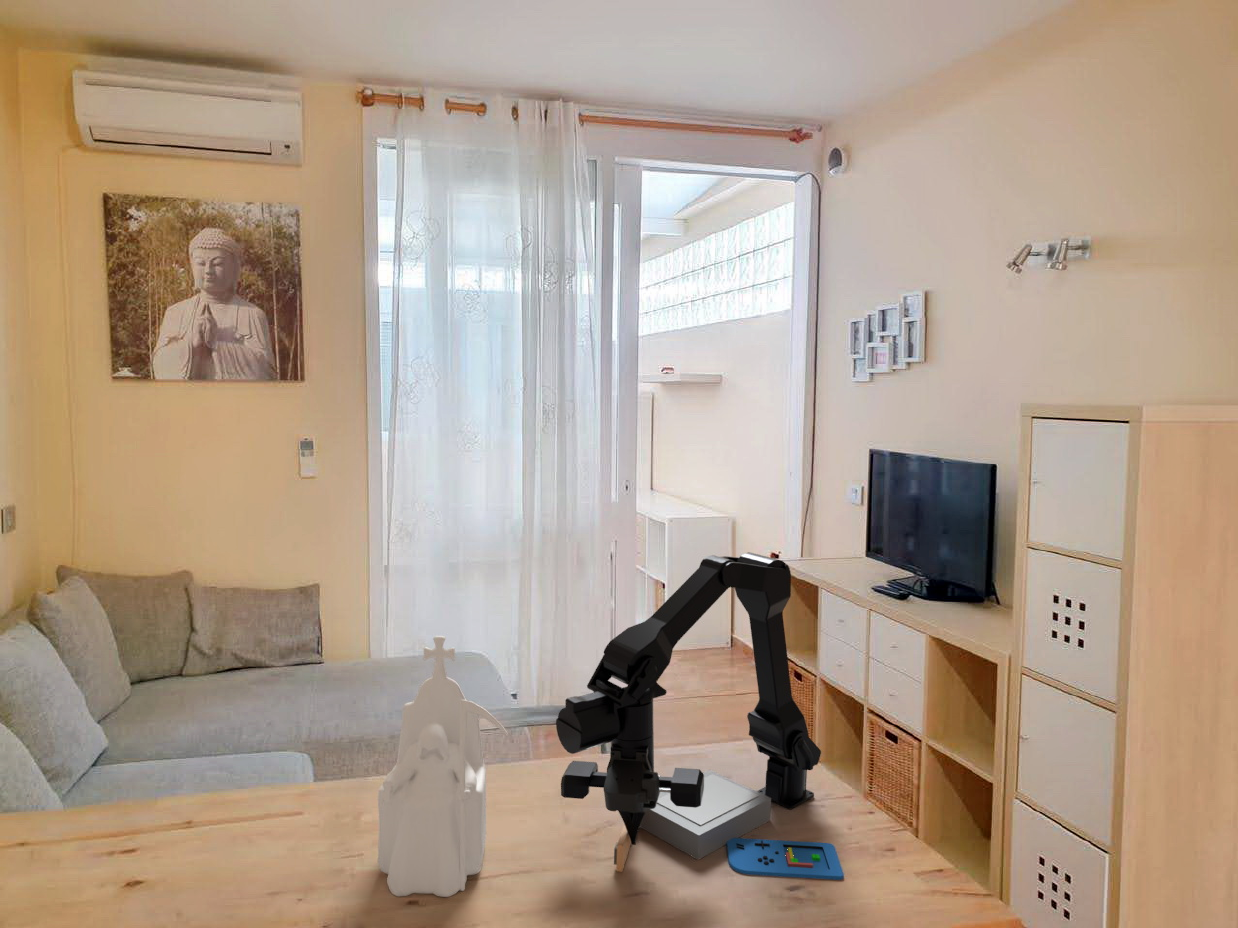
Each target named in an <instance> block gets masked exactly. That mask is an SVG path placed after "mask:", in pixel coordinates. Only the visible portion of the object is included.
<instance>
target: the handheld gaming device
mask: <svg viewBox="0 0 1238 928" xmlns="http://www.w3.org/2000/svg"><path fill="white" fill-rule="evenodd" d="M835 847H836V846H835V845H834V844H832V843H829V842H817V841H815V842H812V841H797V840H795V841H794V840H782V839H781V840H779V839H765V838H764V839H762V838H761V839H760V838H745V837H739V838H732V839H731V840H729V841H727V844H726V849H727V850H726V851H727V859H728V866H729V867H730V868H731V869H732V870H734V871H735V872H737V873H739V874H742V875H749V876H750V875H752V876H768V877H784V878H785V877H786V878H800V879H801V878H802V879H820V880H835V881H836V880H837V881H841V880H843V879H844V875H845V873H844V871H843V868H842V865H841V863H840V859H839V856H838V853H837V850H836V848H835ZM787 849H788V850H787ZM785 855H786V856H785ZM793 855H794V856H793Z"/></svg>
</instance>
